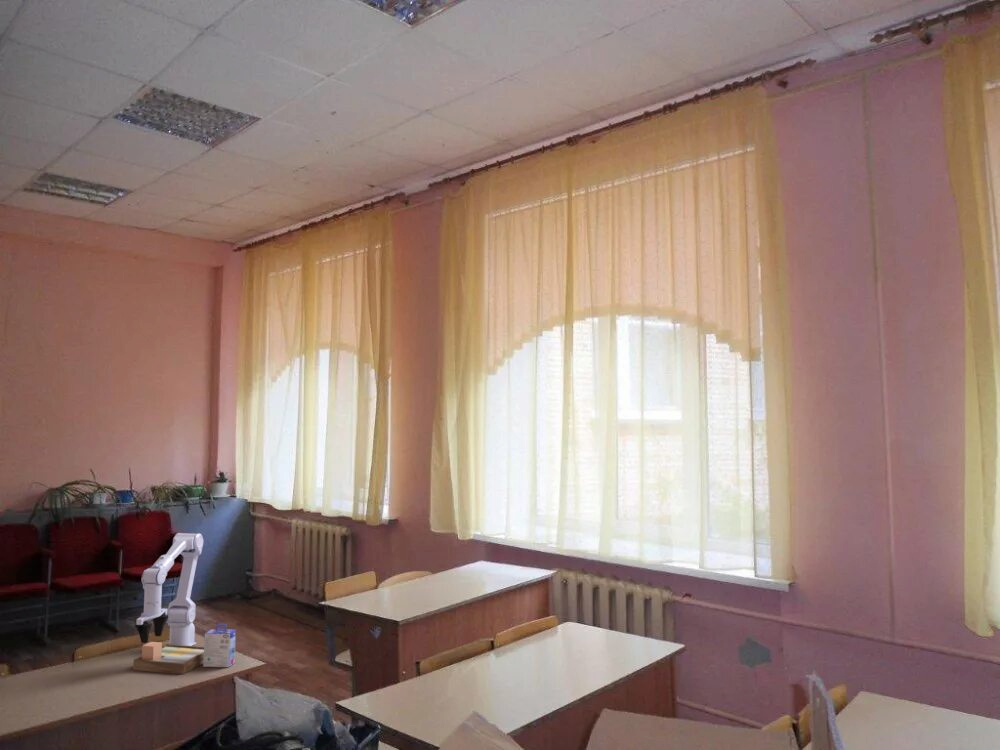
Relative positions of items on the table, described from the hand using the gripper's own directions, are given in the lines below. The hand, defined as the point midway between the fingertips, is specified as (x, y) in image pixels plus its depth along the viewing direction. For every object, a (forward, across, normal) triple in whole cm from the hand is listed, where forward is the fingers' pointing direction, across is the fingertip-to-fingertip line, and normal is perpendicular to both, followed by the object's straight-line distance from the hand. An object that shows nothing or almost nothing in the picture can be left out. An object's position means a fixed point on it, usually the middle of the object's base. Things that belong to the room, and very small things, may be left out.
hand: (151, 639), depth 256 cm
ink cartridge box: (+10, -6, +24) cm, 27 cm away
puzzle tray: (+9, -4, +7) cm, 12 cm away
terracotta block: (+8, +1, +1) cm, 8 cm away
